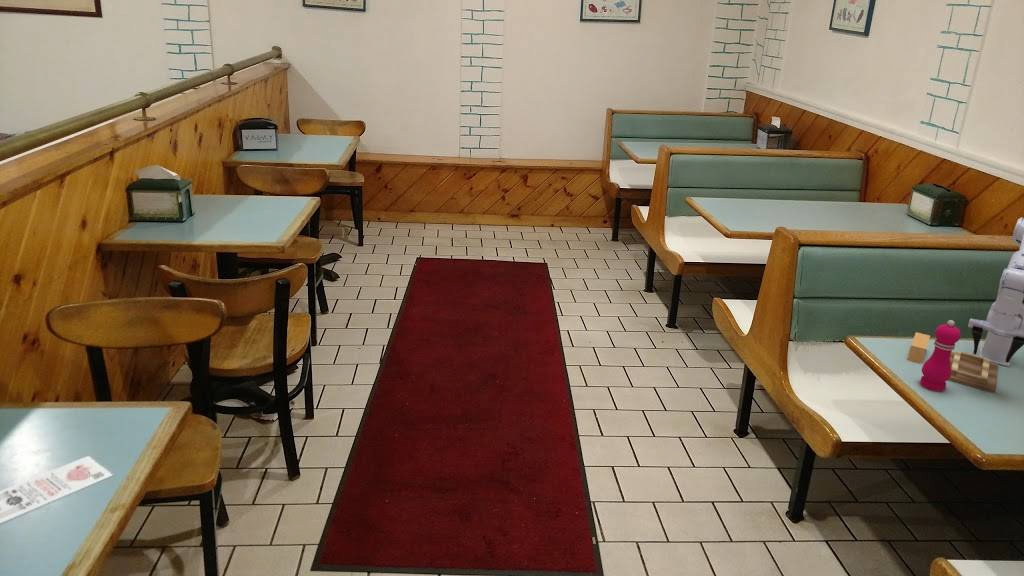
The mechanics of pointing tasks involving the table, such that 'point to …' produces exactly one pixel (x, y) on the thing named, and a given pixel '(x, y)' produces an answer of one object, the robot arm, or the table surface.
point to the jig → (973, 371)
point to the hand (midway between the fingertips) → (990, 357)
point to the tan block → (918, 347)
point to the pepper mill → (940, 358)
